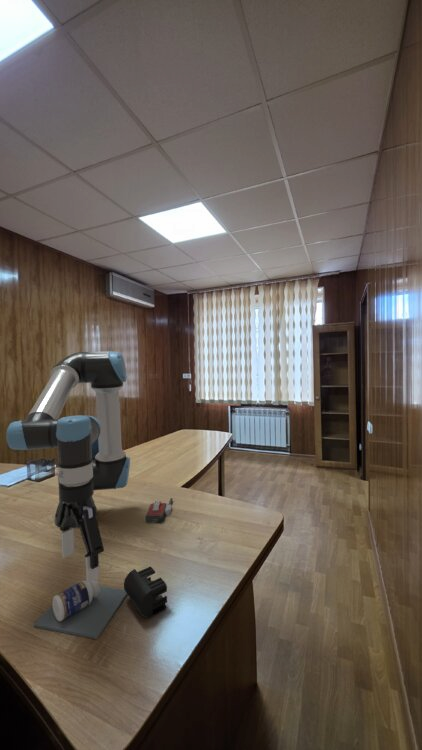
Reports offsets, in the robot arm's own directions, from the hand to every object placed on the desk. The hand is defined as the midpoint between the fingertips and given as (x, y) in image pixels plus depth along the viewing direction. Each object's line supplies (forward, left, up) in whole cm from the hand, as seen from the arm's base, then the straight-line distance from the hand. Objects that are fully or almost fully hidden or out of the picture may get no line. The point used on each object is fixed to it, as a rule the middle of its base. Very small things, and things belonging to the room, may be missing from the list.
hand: (80, 566), depth 76 cm
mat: (+1, 0, -10) cm, 10 cm away
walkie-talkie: (0, +50, -11) cm, 51 cm away
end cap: (+15, +4, -10) cm, 19 cm away
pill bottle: (-3, -6, -7) cm, 9 cm away
